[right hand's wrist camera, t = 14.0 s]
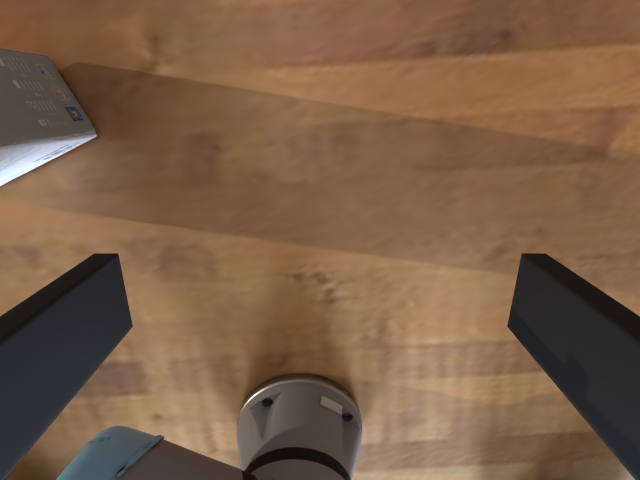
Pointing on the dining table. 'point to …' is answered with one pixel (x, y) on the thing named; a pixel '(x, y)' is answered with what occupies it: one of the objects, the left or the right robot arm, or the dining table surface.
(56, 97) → the hard drive box
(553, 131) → the dining table surface
